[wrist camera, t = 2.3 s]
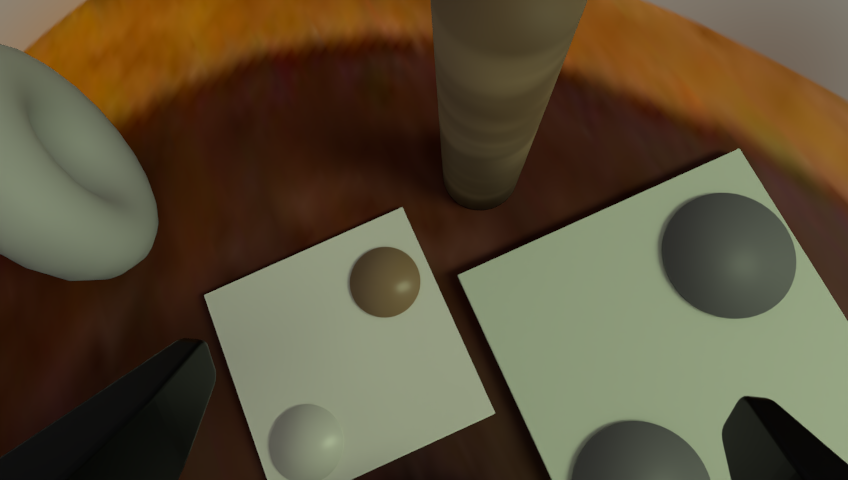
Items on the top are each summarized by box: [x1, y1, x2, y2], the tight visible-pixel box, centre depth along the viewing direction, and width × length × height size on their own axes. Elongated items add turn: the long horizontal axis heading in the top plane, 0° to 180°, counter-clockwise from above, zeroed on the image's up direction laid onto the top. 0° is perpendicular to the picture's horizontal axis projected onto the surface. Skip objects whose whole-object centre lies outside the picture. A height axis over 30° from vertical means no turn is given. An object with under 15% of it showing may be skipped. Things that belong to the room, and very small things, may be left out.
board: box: [458, 149, 848, 480], centre depth 21 cm, size 14×14×1 cm
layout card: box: [204, 207, 495, 480], centre depth 22 cm, size 10×10×1 cm
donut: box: [0, 44, 158, 281], centre depth 20 cm, size 10×4×10 cm, turn 30°
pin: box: [431, 0, 587, 210], centre depth 17 cm, size 4×4×13 cm
